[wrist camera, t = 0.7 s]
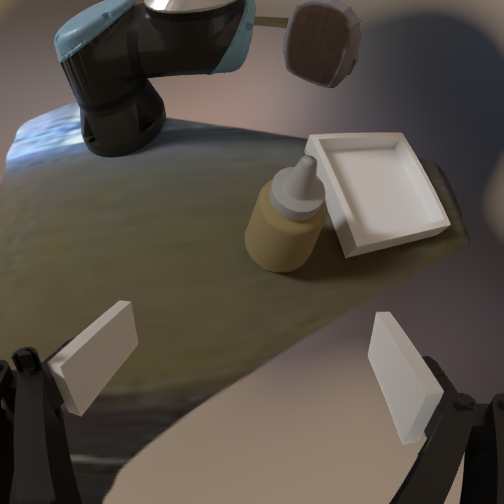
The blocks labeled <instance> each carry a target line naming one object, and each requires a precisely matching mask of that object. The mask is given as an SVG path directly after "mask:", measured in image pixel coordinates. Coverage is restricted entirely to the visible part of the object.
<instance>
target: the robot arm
mask: <svg viewBox="0 0 504 504" xmlns="http://www.w3.org/2000/svg"><path fill="white" fill-rule="evenodd" d="M255 10H256V5H255V0H144V3H142V4H135V0H105V1H102V2H100V3H98V4H95V5H93V6H91V7H89V8H88V9H86V10H84V11H82V12H81V13H79V14H77V15H76V16H74V17H73V18H72V19H70V20H69V21H68V22H66V23H65V24H64V25H63V26H62V27H61V28H60V29H59V31H58V32H57V34H56V36H55V39H54V44H55V48H56V51H57V55H58V61H59V62H60V63H61V66H62V68H63V71H64V73H65V75H66V78H67V80H68V82H69V85H70V87H71V89H72V92H73V94H74V96H75V98H76V100H77V103H78V105H79V107H80V118H81V133H82V137H83V140H84V142H85V143H86V145H87V147H88V149H89V150H90V151H91V152H93V153H94V154H96V155H99V156H105V157H113V156H120V155H124V154H127V153H130V152H132V151H135V150H137V149H139V148H140V147H142V146H144V145H145V144H147V143H148V142H149V141H151V140H152V139H153V138H154V137H155V136H156V135H157V134H158V133H159V131H160V130H161V129H162V127H163V125H164V122H165V119H166V112H165V107H164V103H163V100H162V98H161V97H160V95H159V94H158V93H157V91H156V90H155V88H154V87H153V86H152V84H151V83H150V81H149V80H148V78H154V77H164V76H176V75H196V74H207V75H210V74H211V75H212V74H214V73H226V72H233V71H236V70H237V69H239V68H240V67H241V66H242V65H243V63H244V61H245V59H246V57H247V54H248V50H249V46H250V42H251V38H252V33H253V32H252V28H253V24H254V20H255ZM137 345H138V339H137V334H136V328H135V323H134V317H133V311H132V305H131V302H128V301H118V302H117V303H116V304H115V305H114V306H112V307H111V308H110V309H109V310H108V311H106V312H105V313H104V314H103V315H102V316H100V317H99V318H98V319H97V320H96V321H94V322H93V323H92V324H91V325H90V326H89V327H87V328H86V329H85V330H84V331H83V332H82V333H80V334H79V335H78V336H77V337H75V338H73V339H70V340H68V341H67V342H65V343H64V344H63V345H62V346H61V348H58V349H57V350H56V352H54V353H53V354H52V355H50V356H49V357H48V358H47V359H46V360H45V361H44V362H42V363H41V362H40V359H39V356H38V354H37V351H36V349H34V348H32V347H24V348H21V349H19V350H17V351H15V352H14V353H13V355H12V359H13V361H14V364H15V366H16V369H17V371H16V370H11V369H10V366H9V364H8V362H7V361H5V360H0V504H9V501H10V493H11V486H12V480H13V474H14V469H15V481H16V491H17V503H11V504H83V503H82V500H81V496H80V493H79V490H78V486H77V482H76V479H75V475H74V471H73V467H72V462H71V458H70V453H69V448H68V443H67V438H66V432H65V425H64V419H63V412H62V410H61V408H60V406H61V405H62V404H63V403H65V405H66V407H67V409H68V412H71V413H73V414H76V415H78V416H82V415H83V414H84V412H85V411H86V410H87V408H88V407H89V406H90V405H91V403H92V402H93V401H94V399H95V398H96V397H97V396H98V394H99V393H100V392H101V390H102V389H103V388H104V387H105V385H106V384H107V383H108V381H109V380H110V379H111V378H112V376H113V375H114V374H115V373H116V371H117V370H118V369H119V368H120V366H121V365H122V364H123V363H124V361H125V360H126V359H127V358H128V356H129V355H130V354H131V353H132V351H133V350H134V349H135V348H136V346H137ZM368 359H369V361H370V363H371V366H372V368H373V371H374V373H375V375H376V378H377V380H378V383H379V385H380V388H381V390H382V393H383V395H384V398H385V400H386V403H387V405H388V408H389V411H390V413H391V416H392V419H393V421H394V424H395V427H396V429H397V432H398V435H399V437H400V440H401V443H402V445H405V444H410V443H415V442H419V440H420V438H421V437H422V435H423V433H425V435H426V437H427V440H426V442H425V443H424V445H423V447H422V449H421V450H420V452H419V453H418V457H417V459H416V461H415V463H414V464H413V466H412V468H411V470H410V471H409V473H408V475H407V477H406V478H405V480H404V482H403V483H402V485H401V486H400V488H399V490H398V491H397V493H396V494H395V496H394V497H393V499H392V500H391V502H390V503H389V504H444V502H445V499H446V497H447V495H448V493H449V491H450V488H451V486H452V484H453V481H454V479H455V476H456V474H457V471H458V468H459V466H460V463H461V460H462V457H463V454H464V451H465V457H464V472H463V482H462V491H461V498H460V504H504V394H497V395H495V396H494V398H493V399H492V401H491V403H490V404H476V402H475V400H474V399H473V398H472V397H471V396H469V395H467V394H463V393H458V392H457V391H456V389H455V388H454V386H453V385H452V383H451V382H450V381H449V379H448V378H447V376H445V373H444V372H443V370H441V368H440V366H439V365H438V363H437V362H436V361H435V360H433V359H432V358H430V357H429V356H425V357H421V356H420V354H419V353H418V351H417V350H416V348H415V347H414V345H413V344H412V343H411V341H410V340H409V338H408V337H407V335H406V334H405V332H404V331H403V330H402V328H401V327H400V326H399V324H398V323H397V322H396V320H395V319H394V317H393V316H392V314H391V313H390V312H376V317H375V322H374V328H373V332H372V337H371V342H370V347H369V351H368ZM1 400H2V402H3V404H4V406H3V408H1Z"/></svg>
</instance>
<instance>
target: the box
mask: <svg viewBox="0 0 504 504" xmlns="http://www.w3.org/2000/svg"><path fill="white" fill-rule="evenodd" d="M304 153H305V155H311V156H313V157H314V158H315V159H316V160H317V173H316V175H317V176H318V177H319V178H320V180H321V181H322V183H323V184H324V188H325V192H326V194H325V201H326V206H327V209H328V212H329V214H330V217H331V220H332V222H333V225H334V228H335V230H336V233H337V236H338V239H339V241H340V244H341V247H342V250H343V253H344V256H345V258H348V257H352V256H356V255H361V254H365V253H369V252H373V251H377V250H381V249H385V248H389V247H393V246H397V245H401V244H405V243H409V242H413V241H417V240H421V239H425V238H428V237H432V236H436V235H438V234H439V233H441V232H442V231H443V230H445V229H446V228H447V227H449V226H450V225H451V224H450V222H449V219H448V217H447V215H446V213H445V211H444V208H443V206H442V204H441V202H440V200H439V198H438V196H437V194H436V192H435V190H434V188H433V186H432V184H431V182H430V180H429V178H428V176H427V174H426V173H425V171H424V169H423V167H422V165H421V164H420V162H419V160H418V158H417V157H416V155H415V153H414V152H413V150H412V148H411V146H410V145H409V143H408V142H407V140H406V138H405V137H404V135H403V134H402V133H394V132H361V133H331V134H314V135H309V138H308V141H307V144H306V147H305V150H304Z"/></svg>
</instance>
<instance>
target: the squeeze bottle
mask: <svg viewBox="0 0 504 504" xmlns="http://www.w3.org/2000/svg"><path fill="white" fill-rule="evenodd" d="M316 173H317V160H316V159H315V158H314V157H313V156H311V155H305V156H303V157H302V159H301V160H300V161H299V163H298V164H297V165H296V166H295V167H288V168H285V169H282V170H280V171H279V172H278V173H277V174H276V175H275V176H274V178H273V179H271V180H269V181H268V182H267V183H266V184H265V185H264V186H263V187H262V188H261V191H260V194H259V196H258V199H257V202H256V204H255V207H254V210H253V212H252V215H251V218H250V221H249V223H248V226H247V229H246V232H245V234H244V235H245V247H246V249H247V251H248V253H249V255H250V257H251V258H252V260H253V261H255V262H256V263H257V264H258V265H259V266H261V267H262V268H263V269H265V270H268V271H271V272H276V273H278V272H291V271H293V270H295V269H297V268H299V267H301V266H303V264H304V263H305V262H306V261H307V259H308V258H309V257H310V255H311V253H312V251H313V248H314V246H315V244H316V241H317V239H318V236H319V234H320V231H321V229H322V226H323V224H324V222H325V218H326V213H327V206H326V201H325V194H326V192H325V188H324V184H323V183H322V181H321V180H320V178H319V177H318V176H317V175H316Z"/></svg>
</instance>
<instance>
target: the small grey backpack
mask: <svg viewBox="0 0 504 504" xmlns="http://www.w3.org/2000/svg"><path fill="white" fill-rule="evenodd" d="M360 22H361V21H360V19H359V18H358V17H357V15H356V14H355V12H354V11H353V10H352V8H351V7H350V6H348V5H346V4H345V3H343V2H341V1H340V0H300V2H299V3H298V4H297V6H296V7H295V9H294V10H293V12H292V14H291V15H290V17H289V21H288V26H287V31H286V33H285V39H284V47H283V48H284V49H283V52H284V57H285V63H286V68H287V70H288V71H289V72H291V73H292V74H294V75H296V76H298V77H300V78H302V79H304V80H306V81H308V82H311V83H314V84H316V85H319V86H323V87H328V88H334V87H336V86H337V85H338V84H339V83H340V82H341V81H342V80H343V79H344V78H345V76H346V75H350V73H351V72H352V70H353V67H354V65H355V63H357V61H358V57H359V55H358V53H357V52H358V48H359V44H360V40H361V31H360Z"/></svg>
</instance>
